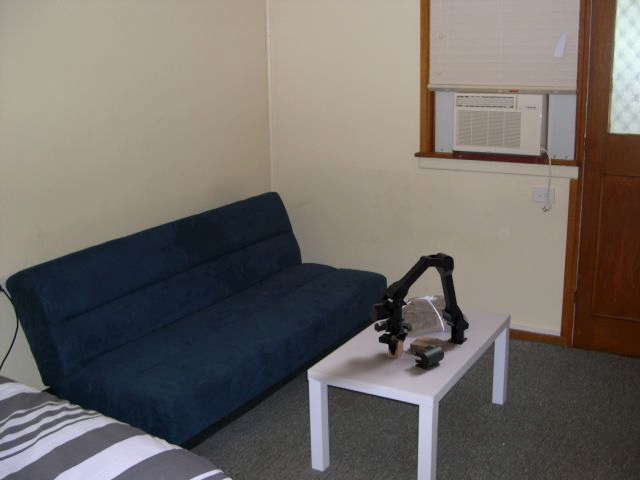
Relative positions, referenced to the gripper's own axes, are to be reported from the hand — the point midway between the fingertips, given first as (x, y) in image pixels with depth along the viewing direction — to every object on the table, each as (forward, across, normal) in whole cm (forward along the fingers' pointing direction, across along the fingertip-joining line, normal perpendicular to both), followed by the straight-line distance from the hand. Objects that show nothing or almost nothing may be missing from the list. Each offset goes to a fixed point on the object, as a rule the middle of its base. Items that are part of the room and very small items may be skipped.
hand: (395, 352), depth 311 cm
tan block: (+1, -12, +8) cm, 14 cm away
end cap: (+1, +2, +16) cm, 16 cm away
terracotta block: (+1, 0, 0) cm, 1 cm away
